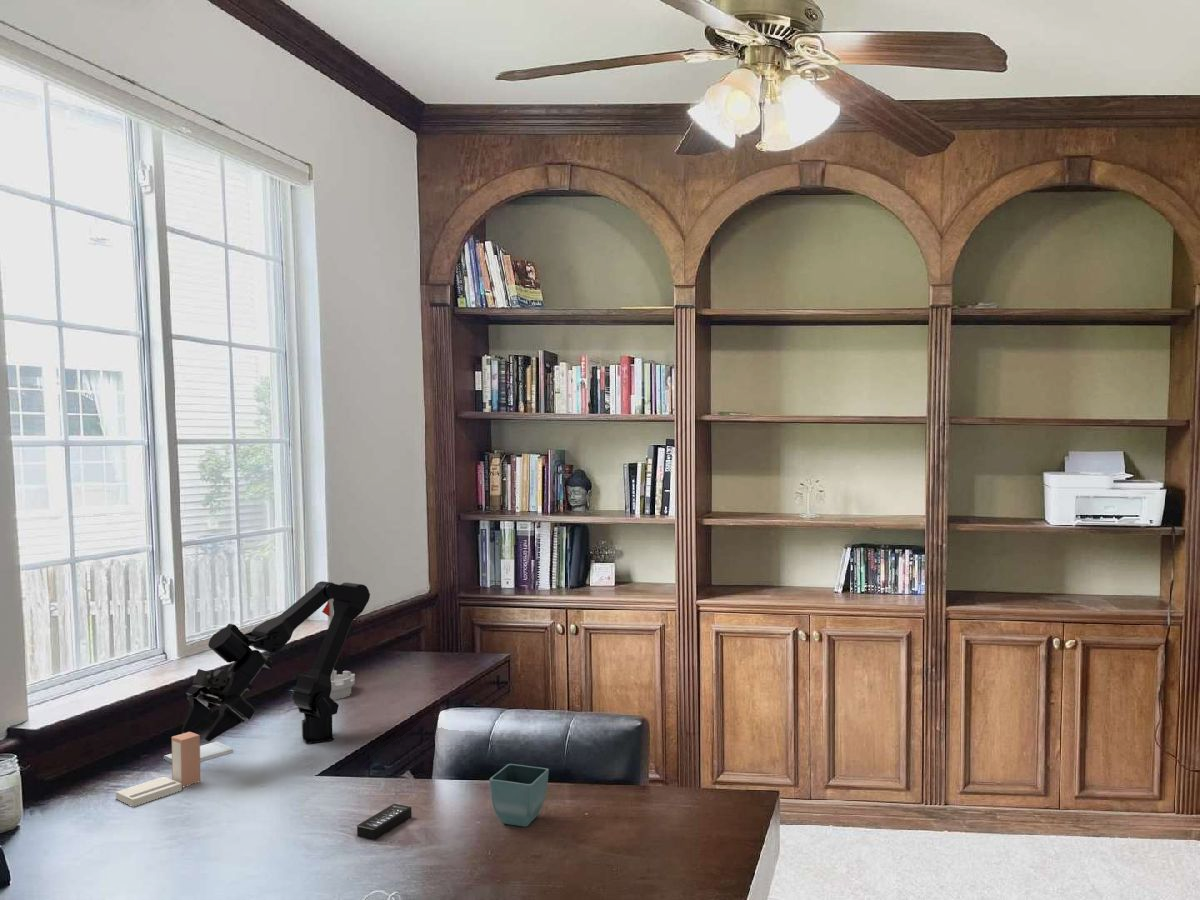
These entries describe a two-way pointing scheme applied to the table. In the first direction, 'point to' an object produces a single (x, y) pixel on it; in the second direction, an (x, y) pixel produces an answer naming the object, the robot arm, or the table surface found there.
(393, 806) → the multiport hub
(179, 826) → the table surface
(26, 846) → the table surface
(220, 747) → the hard drive
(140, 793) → the striped cream block
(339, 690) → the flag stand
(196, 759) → the stub
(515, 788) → the flower pot
